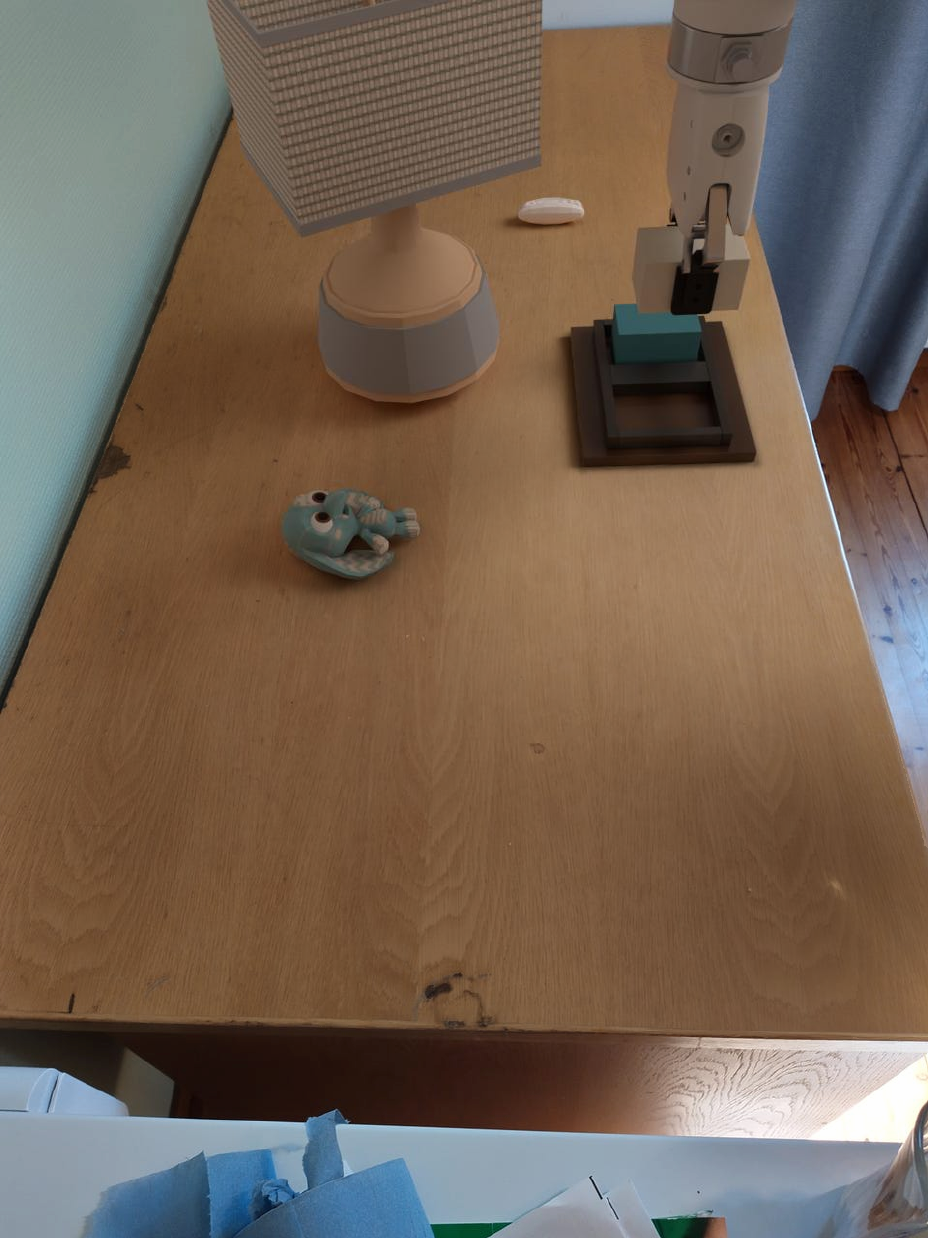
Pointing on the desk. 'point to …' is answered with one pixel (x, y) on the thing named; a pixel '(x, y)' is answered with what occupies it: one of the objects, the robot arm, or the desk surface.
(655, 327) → the teal pad
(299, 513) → the stuffed animal
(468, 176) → the desk lamp
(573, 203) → the white soap bar
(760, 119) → the robot arm
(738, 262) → the cream pad
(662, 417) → the back plate
